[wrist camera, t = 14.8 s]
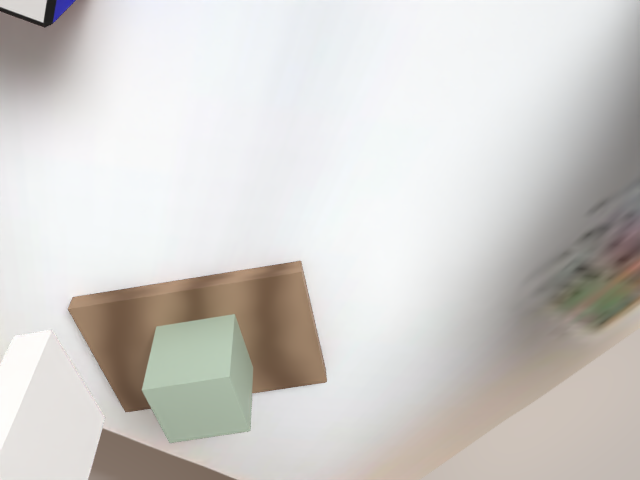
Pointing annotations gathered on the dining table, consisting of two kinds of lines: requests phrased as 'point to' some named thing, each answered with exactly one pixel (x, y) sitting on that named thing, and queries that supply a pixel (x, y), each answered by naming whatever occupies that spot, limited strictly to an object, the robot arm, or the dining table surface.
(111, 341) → the walnut board
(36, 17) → the puzzle cube
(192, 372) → the green cube
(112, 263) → the dining table surface
